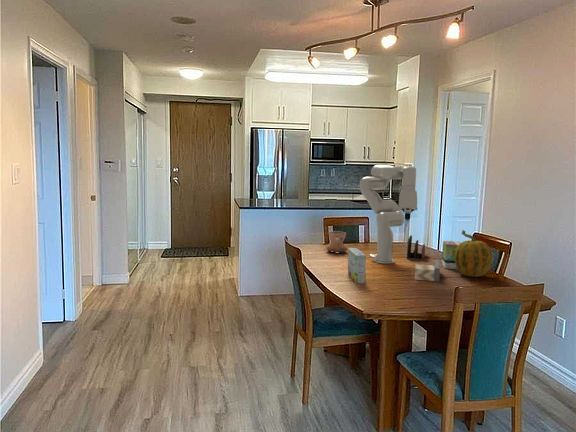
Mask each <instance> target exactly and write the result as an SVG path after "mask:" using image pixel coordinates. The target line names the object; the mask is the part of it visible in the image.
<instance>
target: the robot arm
mask: <svg viewBox="0 0 576 432" xmlns="http://www.w3.org/2000/svg"><path fill="white" fill-rule="evenodd" d="M370 174H371V175H372V176H365V177H362V178H361V179H360V181H359V190H360V193H361V194H362V196H363V197H364V199H365V200H366V201H367V202H368V204H369V206H370V208H371V210H372V211H373V213H374V215H376V225H377V226H376V227H377V228H376V229H377V242H376V243H377V244H376V245H377V246H376V247H377V249H376V254H369V258H370V259H373V260H374V261H373V262H375V263H377V264H383V265H384V264H385V265H386V264H387V265H388V264H394V263H396V262H395V259H393V251H394V250H393V247H394V245H393V243H394V232H393V231H392V229H391V227H392V228H394V227H395V228H396V227H402V226H403V224H404V223H405V221H410V220H411V213H413V212H414V211H418V192H417V190H416V187H417V185H416V183H417V182H416V180H417V179H416V178H417V168H416V167H414V166H406V165H404V166H401V165H400V166H399V165H397V166H396V165H389V164H376V165H374V166H373V167H371V169H370ZM391 180H402V181H401V185H400V186H399V189H400V191H399V196H398V197H399V198H398V204H397V202H396V201H395V200H393V199H383V198H382V197H381V196H380V194H379V193H378V192H377V191H376V190H379V191H380V190H384V189H385V188H386V187H388V184H389V183H390V181H391ZM407 209H408V210H407ZM403 213H404V214H403Z"/></svg>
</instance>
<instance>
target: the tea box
mask: <svg viewBox="0 0 576 432" xmlns="http://www.w3.org/2000/svg"><path fill="white" fill-rule="evenodd" d="M460 243H461V242H460V241H455V240H454V241H453V240H443V241H442V254H441V255H442V256H441V264H442V265H443V268H444V269H447V270H448V269H449V270H457V268H456V264H455V251H456V248H457V246H458V245H459V244H460Z"/></svg>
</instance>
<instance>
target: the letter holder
mask: <svg viewBox="0 0 576 432" xmlns="http://www.w3.org/2000/svg"><path fill="white" fill-rule="evenodd" d="M412 242H413V235H409V237H408V240H407V249H406V250H407V251H406V260H407V259H408V260H409V261H424V258H425V255H426V245H425V243H423V245H422V246H421V253H420V252H419V240H418V239H417V240H415V244H414V250H413V252H412Z"/></svg>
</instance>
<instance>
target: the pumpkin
mask: <svg viewBox="0 0 576 432" xmlns="http://www.w3.org/2000/svg"><path fill="white" fill-rule="evenodd" d="M461 235H463V236H464V237H466V238H468V239H471V240H463V241H462V242H460V244H459V245H458V246H457V248H456V251H455V264H456V268H457V269H456V270H457V271H458V273H460V274H461V275H463V276H466V277H471V278H472V277H473V278H476V277H477V278H478V277H483V276H484V275H485V274H486V273H488V272H489V270H490V268H491V265H492V262H493V254H492V253H493V252H492V250H491V247H490V246H489V245H488V244H487V243H486V242H484V241H483V240H482V241H481V240H476V238H475V237H474V236H473V235H471V234H469V233H468V234H467V233H466V230H464V229H462V230H461Z"/></svg>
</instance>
